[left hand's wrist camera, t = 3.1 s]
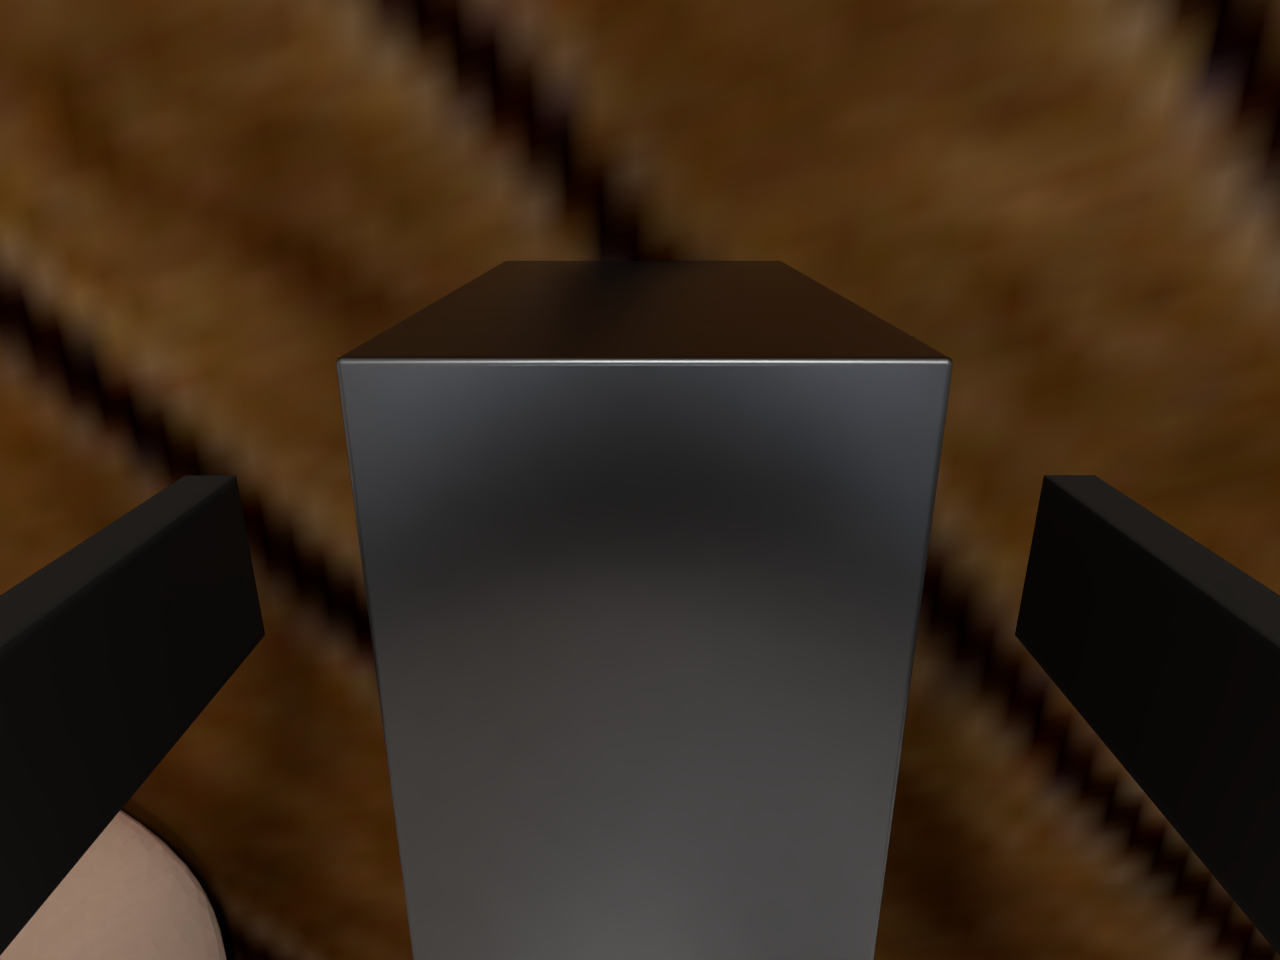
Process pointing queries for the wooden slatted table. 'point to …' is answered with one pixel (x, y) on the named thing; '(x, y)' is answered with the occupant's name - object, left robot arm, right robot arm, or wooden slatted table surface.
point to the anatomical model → (123, 906)
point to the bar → (643, 605)
